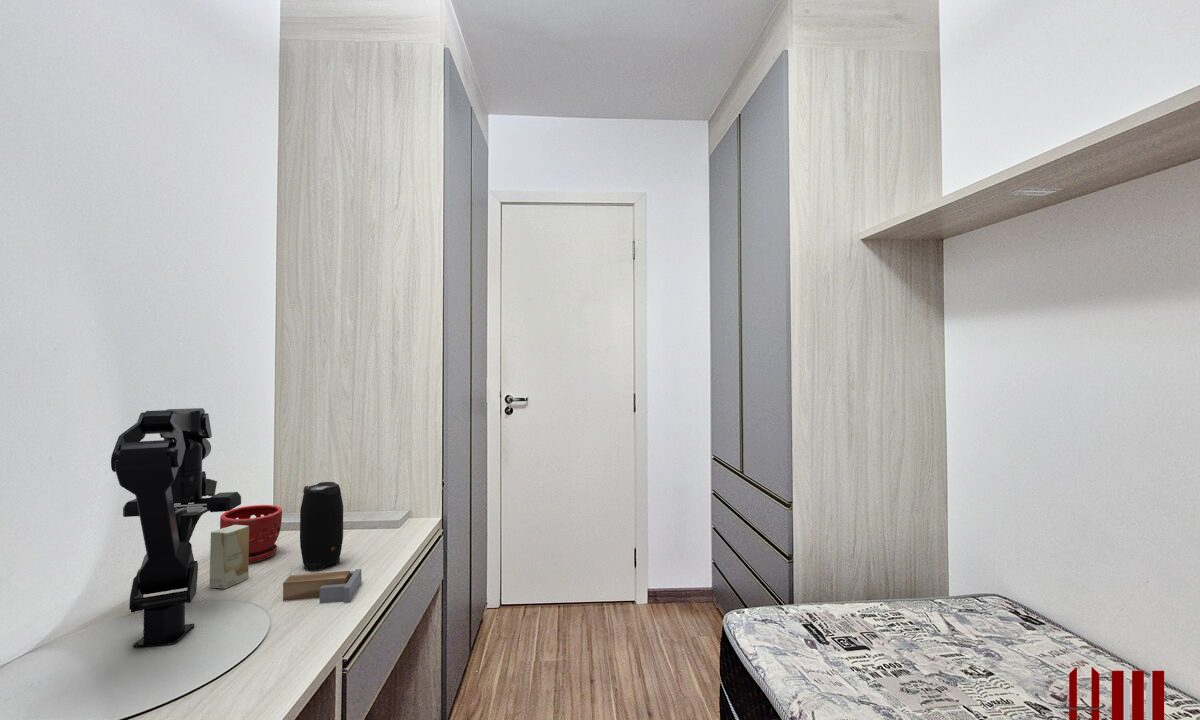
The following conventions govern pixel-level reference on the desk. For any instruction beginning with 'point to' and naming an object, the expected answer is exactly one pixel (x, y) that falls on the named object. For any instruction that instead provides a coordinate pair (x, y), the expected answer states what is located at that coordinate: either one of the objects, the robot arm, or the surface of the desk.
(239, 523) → the plant pot
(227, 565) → the skincare box
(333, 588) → the end cap
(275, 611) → the desk surface
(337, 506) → the portable speaker
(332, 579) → the brown wooden block
